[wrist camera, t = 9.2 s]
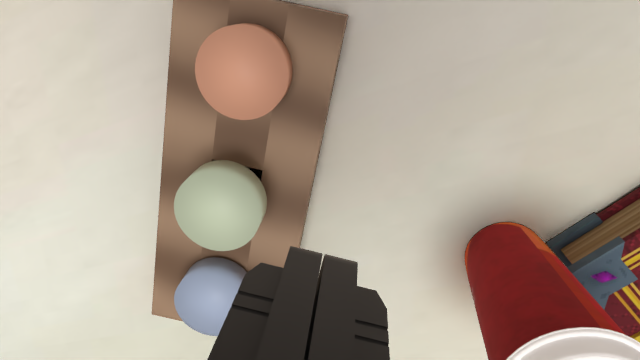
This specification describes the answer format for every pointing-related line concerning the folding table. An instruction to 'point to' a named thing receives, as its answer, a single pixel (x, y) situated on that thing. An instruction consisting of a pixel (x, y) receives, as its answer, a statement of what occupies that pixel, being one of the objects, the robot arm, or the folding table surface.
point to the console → (244, 132)
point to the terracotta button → (243, 70)
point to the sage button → (220, 205)
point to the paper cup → (536, 302)
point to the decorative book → (608, 259)
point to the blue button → (208, 294)
